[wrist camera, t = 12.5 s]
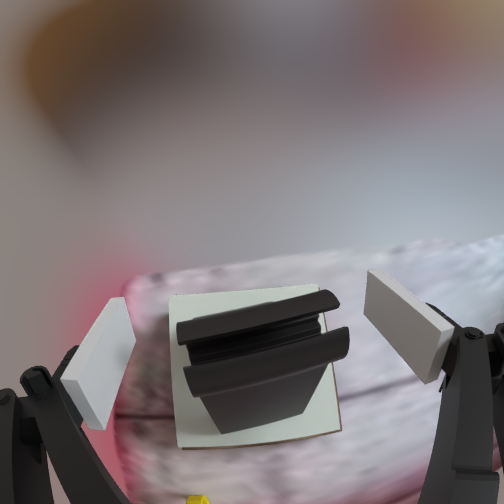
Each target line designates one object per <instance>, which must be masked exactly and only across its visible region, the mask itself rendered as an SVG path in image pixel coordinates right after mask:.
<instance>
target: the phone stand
mask: <svg viewBox="0 0 504 504" xmlns="http://www.w3.org/2000/svg"><path fill="white" fill-rule="evenodd" d="M339 306H340V303H339V301H338V299H337V298H336V297H335V295H334V294H333V293H332V292H330V291H329V290H320V291H317V292H313V293H309V294H305V295H301V296H297V297H293V298H289V299H284V300H280V301H276V302H272V301H270V302H266V303H261V304H257V305H252V306H248V307H243V308H239V309H234V310H229V311H225V312H220V313H215V314H210V315H205V316H200V317H195V318H193V319H192V320H187V321H182V322H177V324H176V334H177V342H178V345H179V346H182V345H186V348H187V350H188V355H189V360H190V363H191V366H185V367H183V371H184V375H185V378H186V381H187V384H188V387H189V389H190V392H191V394H192V396H193V397H194V398H196V397H200V399H201V401H202V403H203V404H204V406H205V408H206V410H207V411H208V413H209V415H210V416H211V418H212V420H213V421H214V423H215V425H216V426H217V428H218V430H219V431H220V433H221V435H222V434H227V433H231V432H236V431H241V430H245V429H249V428H253V427H257V426H261V425H265V424H269V423H273V422H276V421H280V420H283V419H287V418H290V417H293V416H297V415H300V414H303V412H304V411H305V409H306V407H307V405H308V403H309V401H310V399H311V398H312V396H313V394H314V392H315V390H316V388H317V386H318V384H319V382H320V380H321V378H322V376H323V374H324V372H325V370H326V368H327V366H328V364H329V363H332V362H335V361H338V360H340V359H343V358H345V357H346V355H347V353H348V350H349V342H350V338H349V329H348V327H342V328H338V329H335V330H332V331H329V332H326V333H321V325H320V323H319V321H318V319H319V314H320V313H323V312H327V311H330V310H334V309H337V308H339Z"/></svg>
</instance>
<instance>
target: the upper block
mask: <svg viewBox="0 0 504 504" xmlns="http://www.w3.org/2000/svg"><path fill="white" fill-rule="evenodd" d="M317 291H319V289H318V284H308V285H298V286H288V287H277V288H266V289H254V290H242V291H230V292H217V293H202V294H187V295H171V296H169V332H170V358H171V377H172V392H173V404H174V416H175V426H176V435H177V444H178V447H216V446H234V445H247V444H257V443H266V442H274V441H281V440H288V439H294V438H300V437H306V436H311V435H316V434H321V433H326V432H331V431H335V430H339V429H340V423H339V414H338V406H337V399H336V391H335V384H334V377H333V371H332V364H331V363H329V364H328V366H327V368H326V370H325V372H324V374H323V376H322V378H321V380H320V382H319V384H318V386H317V388H316V390H315V392H314V394H313V396H312V398H311V399H310V401H309V403H308V405H307V407H306V409H305V411H304V412H303V414H300V415H297V416H293V417H290V418H287V419H283V420H280V421H276V422H273V423H269V424H265V425H261V426H257V427H253V428H249V429H245V430H241V431H236V432H231V433H227V434H222V435H221V433H220V431H219V430H218V428H217V426H216V425H215V423H214V421H213V420H212V418H211V416H210V415H209V413H208V411H207V410H206V408H205V406H204V404H203V403H202V401H201V399H200V397H196V398H194V397H193V396H192V394H191V392H190V389H189V387H188V384H187V381H186V378H185V375H184V371H183V367H185V366H191V363H190V360H189V355H188V350H187V348H186V345H182V346H179V345H178V342H177V334H176V324H177V322H182V321H187V320H192V319H193V318H195V317H200V316H205V315H210V314H215V313H220V312H225V311H229V310H234V309H239V308H243V307H248V306H252V305H257V304H261V303H266V302H270V301H272V302H276V301H280V300H284V299H289V298H293V297H297V296H301V295H305V294H309V293H313V292H317ZM318 321H319V323H320V325H321V333H326V327H325V322H324V316H323V313H320V314H319V319H318Z"/></svg>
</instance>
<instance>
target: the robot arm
mask: <svg viewBox="0 0 504 504" xmlns="http://www.w3.org/2000/svg"><path fill="white" fill-rule="evenodd" d="M364 315H365V316H366V317H367V318H368V319H369V320H370V322H371V323H372V324H373V325H374V326H375V327H376V328H377V329H378V331H379V332H380V333H381V334H382V335H383V336H384V337H385V339H386V340H387V341H388V342H389V343H390V344H391V346H392V347H393V348H394V349H395V350H396V351H397V352H398V354H399V355H400V356H401V357H402V358H403V359H404V361H405V362H406V363H407V364H408V365H409V367H410V368H411V369H412V370H413V371H414V372H415V374H416V375H417V376H418V377H419V378H420V380H421V381H422V382H423V383H424V384H427V383H430V382H432V381H434V380H437V379H438V376H439V374H440V371H441V368H442V369H443V370H444V372H445V373H446V374H445V377H444V380H443V382H442V385H441V387H440V389H439V392H441V390H442V389H443V390H442V398H441V406H440V413H439V419H438V425H437V430H436V436H435V441H434V446H433V450H432V455H431V459H430V463H429V467H428V471H427V474H426V478H425V482H424V485H423V488H422V492H421V495H420V498H419V501H418V504H497V497H498V490H499V474H498V472H493V471H492V455H493V425H494V429H495V433H496V437H497V441H498V446H499V451H500V456H501V461H502V467H503V473H504V323H500V324H498V325H497V326H496V329H495V332H494V334H488V335H485V334H484V333H483V332H482V331H481V330H479V329H477V328H474V327H465V328H462V327H461V326H459V325H458V324H457V323H456V322H454V321H453V320H452V319H451V318H449V317H448V316H446V315H445V314H444V313H443V312H441V311H440V310H439V309H438V308H436V307H435V306H433V305H431V304H428V303H424V302H423V301H421V300H420V299H419V298H418V297H416V296H415V295H414V294H412V293H411V292H410V291H409V290H407V289H406V288H405V287H403V286H402V285H401V284H399V283H398V282H397V281H395V280H394V279H393V278H391V277H390V276H389V275H387V274H386V273H384V272H383V271H382V270H380V269H374V270H368V274H367V286H366V297H365V306H364ZM135 343H136V339H135V335H134V332H133V329H132V325H131V322H130V318H129V315H128V311H127V307H126V304H125V300H124V297H119V298H111V299H110V300H109V302H108V303H107V305H106V306H105V308H104V309H103V311H102V312H101V314H100V315H99V317H98V318H97V320H96V321H95V323H94V324H93V326H92V327H91V329H90V330H89V332H88V334H87V335H86V337H85V338H84V340H83V342H82V343H81V345H75V346H74V347H73V348H72V349H70V350H69V351H68V352H67V354H66V355H65V357H64V358H63V360H62V362H61V364H60V366H58V368H57V370H56V371H55V373H54V375H53V376H52V377H51V375H50V373H49V371H48V370H47V369H46V367H43V366H34V367H31V368H29V369H28V370H26V371H25V372H24V373H23V374H22V376H21V377H20V383H21V385H22V387H23V388H24V390H25V392H26V393H27V395H28V396H27V397H17V395H16V393H15V392H14V391H13V390H12V389H9V388H7V389H6V388H5V389H2V390H0V504H54V500H53V495H52V489H51V483H50V477H49V470H48V462H47V453H48V455H49V458H50V460H51V463H52V465H53V467H54V470H55V472H56V474H57V477H58V479H59V481H60V483H61V485H62V487H63V489H64V491H65V493H66V495H67V497H68V499H69V501H70V503H71V504H131V503H130V501H129V500H128V499H127V497H126V496H125V495H124V493H123V492H122V491H121V489H120V488H119V487H118V485H117V484H116V482H115V481H114V479H113V478H112V477H111V475H110V474H109V472H108V471H107V469H106V468H105V466H104V465H103V463H102V462H101V460H100V458H99V457H98V455H97V453H96V452H95V450H94V448H93V447H92V445H91V444H90V442H89V440H88V438H87V436H86V435H85V433H84V431H83V430H82V428H81V424H82V422H83V420H84V421H85V423H86V425H87V426H88V428H89V429H96V430H104V431H105V430H106V426H107V423H108V420H109V417H110V414H111V411H112V408H113V405H114V401H115V398H116V395H117V393H118V390H119V387H120V384H121V381H122V378H123V375H124V372H125V370H126V367H127V364H128V361H129V359H130V356H131V353H132V351H133V348H134V345H135ZM46 450H47V453H46Z"/></svg>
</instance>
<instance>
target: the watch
mask: <svg viewBox="0 0 504 504" xmlns="http://www.w3.org/2000/svg"><path fill="white" fill-rule="evenodd" d="M186 504H209V501H208V499H207V497H206V496H204V495H195V496H189V497H188V499H187V501H186Z"/></svg>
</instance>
